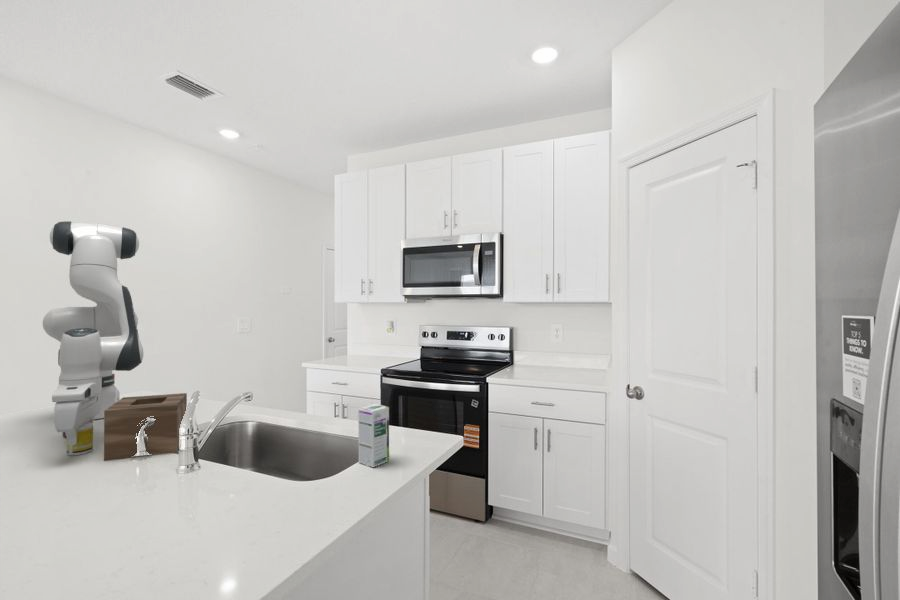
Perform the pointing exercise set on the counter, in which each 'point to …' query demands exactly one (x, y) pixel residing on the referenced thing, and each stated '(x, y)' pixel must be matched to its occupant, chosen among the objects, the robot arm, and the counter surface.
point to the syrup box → (373, 434)
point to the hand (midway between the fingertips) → (80, 438)
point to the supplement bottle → (82, 440)
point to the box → (131, 412)
